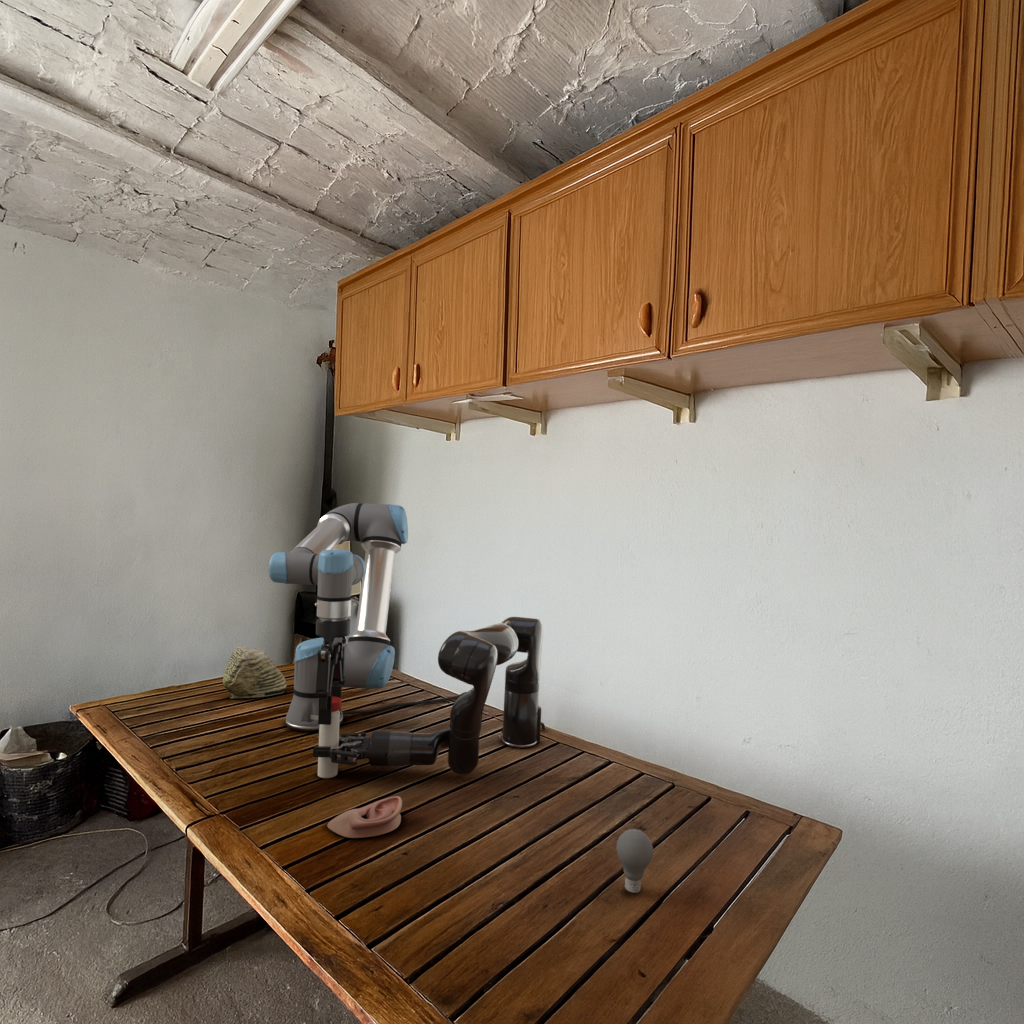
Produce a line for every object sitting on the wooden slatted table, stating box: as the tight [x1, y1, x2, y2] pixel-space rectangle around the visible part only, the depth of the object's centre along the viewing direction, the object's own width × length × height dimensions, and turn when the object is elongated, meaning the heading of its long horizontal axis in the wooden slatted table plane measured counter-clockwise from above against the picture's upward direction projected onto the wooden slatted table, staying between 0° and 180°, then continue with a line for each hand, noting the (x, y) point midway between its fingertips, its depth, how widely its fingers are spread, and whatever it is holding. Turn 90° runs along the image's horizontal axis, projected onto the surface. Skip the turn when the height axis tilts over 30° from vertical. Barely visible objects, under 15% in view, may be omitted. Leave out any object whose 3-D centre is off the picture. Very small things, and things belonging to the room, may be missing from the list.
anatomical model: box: [327, 795, 403, 839], centre depth 123 cm, size 13×4×12 cm
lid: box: [332, 697, 343, 712], centre depth 144 cm, size 5×5×2 cm
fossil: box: [222, 646, 288, 699], centre depth 198 cm, size 9×18×15 cm, turn 132°
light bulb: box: [615, 828, 654, 894], centre depth 106 cm, size 6×6×10 cm
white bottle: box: [317, 710, 341, 779], centre depth 145 cm, size 4×4×16 cm
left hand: (329, 718), depth 145 cm, fingers open, 6 cm apart
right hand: (316, 747), depth 144 cm, fingers closed on white bottle, 4 cm apart
